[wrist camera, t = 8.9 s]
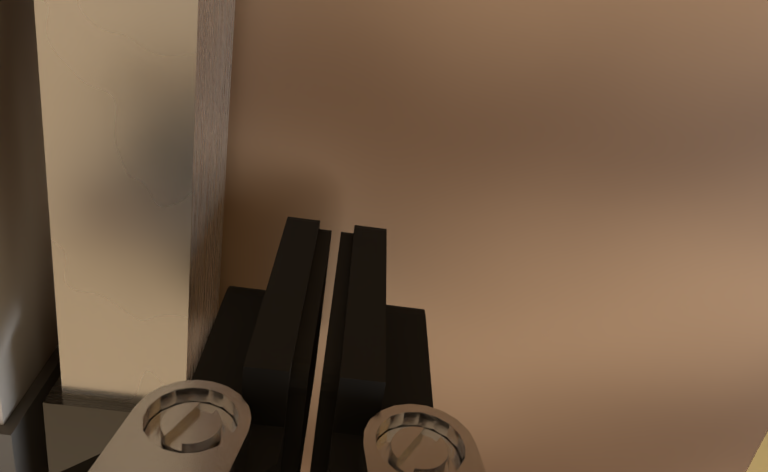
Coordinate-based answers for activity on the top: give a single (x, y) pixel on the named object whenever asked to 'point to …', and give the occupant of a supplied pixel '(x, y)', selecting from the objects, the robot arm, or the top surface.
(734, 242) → the tongs board
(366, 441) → the robot arm
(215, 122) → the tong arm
